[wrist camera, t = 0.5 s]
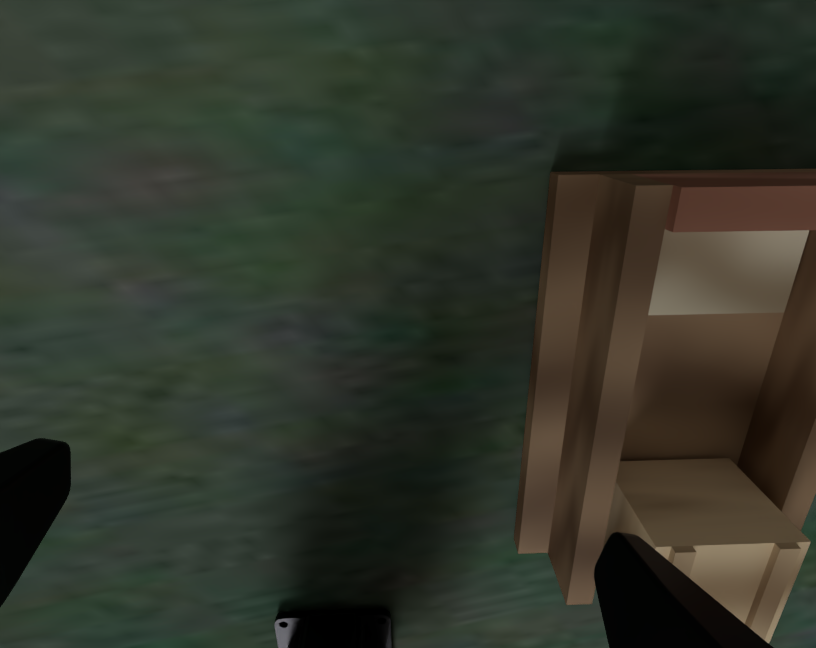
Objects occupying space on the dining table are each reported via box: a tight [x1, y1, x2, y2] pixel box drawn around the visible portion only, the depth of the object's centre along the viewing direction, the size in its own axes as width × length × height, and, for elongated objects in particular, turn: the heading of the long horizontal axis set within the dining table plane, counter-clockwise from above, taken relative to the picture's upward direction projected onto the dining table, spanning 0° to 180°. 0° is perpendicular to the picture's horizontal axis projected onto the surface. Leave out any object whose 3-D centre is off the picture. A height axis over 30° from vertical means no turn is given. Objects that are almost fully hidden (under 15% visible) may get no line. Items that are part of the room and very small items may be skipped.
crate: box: [603, 458, 811, 644], centre depth 22 cm, size 6×6×5 cm
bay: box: [514, 169, 816, 605], centre depth 21 cm, size 19×13×4 cm
